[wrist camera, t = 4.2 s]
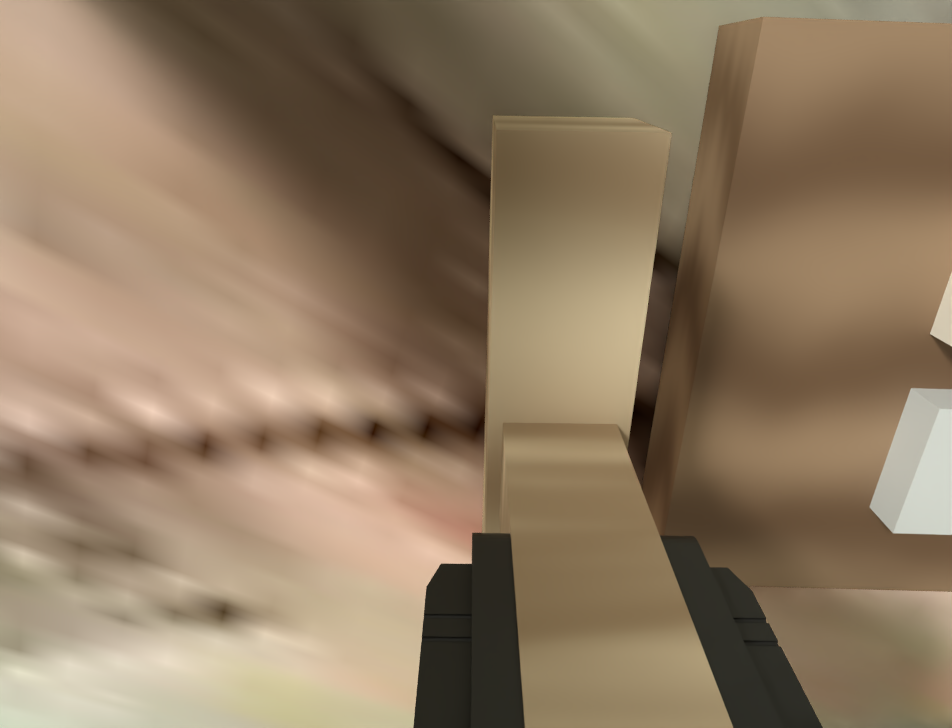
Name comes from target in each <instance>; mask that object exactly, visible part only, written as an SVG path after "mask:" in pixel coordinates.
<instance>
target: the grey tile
mask: <svg viewBox="0 0 952 728" xmlns="http://www.w3.org/2000/svg"><path fill="white" fill-rule="evenodd" d="M870 508H871V510H872V511H873V512H874V513H875V514H876V515H877V516H878V517H879V518H880V519H881V521H882V522H883V523H884V524H885V525H886V526H887V527H888V528H889V529H890V531H891V532H892V533H901V534H937V535H952V389H924V388H911V390H910V392H909V395H908V398H907V401H906V404H905V407H904V410H903V412H902V415H901V418H900V421H899V424H898V427H897V430H896V432H895V435H894V438H893V441H892V444H891V447H890V450H889V452H888V455H887V458H886V461H885V464H884V467H883V470H882V472H881V475H880V478H879V481H878V484H877V487H876V490H875V492H874V495H873V498H872V501H871V504H870Z"/></svg>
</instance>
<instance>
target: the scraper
mask: <svg viewBox="0 0 952 728" xmlns="http://www.w3.org/2000/svg"><path fill="white" fill-rule="evenodd" d="M671 136H672V133H671V132H668V131H666V130H663V129H661V128H658V127H656V126H653V125H650V124H648V123H645V122H643V121H640V120H637V119H635V118H614V117H553V116H493V121H492V161H491V201H490V241H489V281H488V321H487V362H486V402H485V442H484V482H483V522H482V533H510V535H511V546H512V560H513V573H514V587H515V601H516V615H517V629H518V642H519V656H520V670H521V684H522V698H523V711H524V725H525V728H733V726H732V723H731V720H730V718H729V715H728V713H727V710H726V707H725V705H724V702H723V700H722V697H721V694H720V692H719V689H718V686H717V684H716V681H715V679H714V676H713V673H712V671H711V668H710V666H709V663H708V660H707V658H706V655H705V653H704V650H703V647H702V645H701V642H700V640H699V637H698V634H697V632H696V629H695V627H694V624H693V621H692V619H691V616H690V613H689V611H688V608H687V606H686V603H685V600H684V598H683V595H682V593H681V590H680V587H679V585H678V582H677V580H676V577H675V574H674V572H673V569H672V567H671V564H670V561H669V559H668V556H667V554H666V551H665V548H664V546H663V543H662V541H661V538H660V535H659V533H658V530H657V527H656V525H655V522H654V520H653V517H652V514H651V512H650V509H649V507H648V504H647V501H646V499H645V496H644V494H643V491H642V488H641V486H640V483H639V481H638V478H637V475H636V473H635V470H634V468H633V465H632V462H631V460H630V457H629V454H628V452H627V450H628V442H629V435H630V428H631V421H632V414H633V407H634V400H635V393H636V385H637V378H638V371H639V364H640V357H641V350H642V343H643V336H644V328H645V321H646V314H647V307H648V300H649V293H650V286H651V278H652V271H653V264H654V257H655V250H656V243H657V236H658V229H659V221H660V214H661V207H662V200H663V193H664V186H665V179H666V171H667V164H668V157H669V150H670V143H671Z"/></svg>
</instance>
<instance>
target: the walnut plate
mask: <svg viewBox="0 0 952 728" xmlns="http://www.w3.org/2000/svg"><path fill="white" fill-rule="evenodd" d="M951 272H952V24H947V23H919V22H891V21H863V20H836V19H808V18H780V17H760V18H756V19H751V20H746V21H741V22H736V23H731V24H726V25H721V26H719V30H718V36H717V42H716V48H715V54H714V60H713V66H712V72H711V78H710V83H709V89H708V95H707V101H706V107H705V113H704V119H703V125H702V131H701V137H700V143H699V149H698V155H697V161H696V167H695V173H694V179H693V185H692V191H691V197H690V203H689V209H688V215H687V221H686V227H685V233H684V239H683V245H682V251H681V257H680V263H679V269H678V275H677V281H676V287H675V292H674V298H673V304H672V310H671V316H670V322H669V328H668V334H667V340H666V346H665V352H664V358H663V364H662V370H661V376H660V382H659V388H658V394H657V400H656V406H655V412H654V418H653V424H652V430H651V436H650V442H649V448H648V454H647V460H646V466H645V472H644V478H643V484H642V491H643V494H644V496H645V499H646V501H647V504H648V507H649V509H650V512H651V514H652V517H653V520H654V522H655V525H656V527H657V530H658V533H659V535H668V536H694V537H695V538H696V539H697V541H698V543H699V545H700V547H701V549H702V551H703V553H704V556H705V558H706V560H707V562H708V564H709V566H710V567H728V568H729V569H730V570H731V571H732V572H733V573H734V574H735V575H736V576H737V577H738V578H739V579H740V580H741V581H742V582H743V583H744V584H745V585H746V586H764V587H801V588H837V589H874V590H911V591H947V592H952V535H937V534H901V533H892V532H891V531H890V529H889V528H888V527H887V526H886V525H885V524H884V523H883V522H882V521H881V519H880V518H879V517H878V516H877V515H876V514H875V513H874V512H873V511H872V510H871V508H870V504H871V501H872V498H873V495H874V492H875V490H876V487H877V484H878V481H879V478H880V475H881V472H882V470H883V467H884V464H885V461H886V458H887V455H888V452H889V450H890V447H891V444H892V441H893V438H894V435H895V432H896V430H897V427H898V424H899V421H900V418H901V415H902V412H903V410H904V407H905V404H906V401H907V398H908V395H909V392H910V390H911V388H924V389H952V346H950V345H948V344H947V343H945V342H943V341H941V340H940V339H938V338H936V337H934V336H933V335H931V334H930V332H931V329H932V327H933V324H934V321H935V318H936V315H937V312H938V309H939V307H940V304H941V301H942V298H943V295H944V292H945V289H946V287H947V284H948V281H949V278H950V275H951Z"/></svg>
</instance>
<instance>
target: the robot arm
mask: <svg viewBox="0 0 952 728" xmlns="http://www.w3.org/2000/svg"><path fill="white" fill-rule="evenodd" d="M660 538H661V541H662V543H663V546H664V548H665V551H666V554H667V556H668V559H669V561H670V564H671V567H672V569H673V572H674V574H675V577H676V580H677V582H678V585H679V587H680V590H681V593H682V595H683V598H684V600H685V603H686V606H687V608H688V611H689V613H690V616H691V619H692V621H693V624H694V627H695V629H696V632H697V634H698V637H699V640H700V642H701V645H702V647H703V650H704V653H705V655H706V658H707V660H708V663H709V666H710V668H711V671H712V673H713V676H714V679H715V681H716V684H717V686H718V689H719V692H720V694H721V697H722V700H723V702H724V705H725V707H726V710H727V713H728V715H729V718H730V720H731V723H732V726H733V728H822V726H821V724H820V722H819V720H818V718H817V716H816V714H815V712H814V710H813V708H812V706H811V704H810V702H809V700H808V698H807V697H806V695H805V693H804V691H803V689H802V687H801V685H800V683H799V681H798V679H797V677H796V675H795V673H794V671H793V669H792V667H791V666H790V664H789V662H788V660H787V658H786V656H785V654H784V652H783V650H782V648H781V647H779V646H778V640H777V638H776V636H775V635H774V633H773V631H772V629H771V627H770V625H769V623H766V617H765V615H764V613H763V611H762V609H761V607H760V605H759V604H758V602H757V600H756V598H755V596H754V594H753V592H752V590H751V589H750V588H748V587H747V586H746V585H745V584H744V583H743V582H742V581H741V580H740V579H739V578H738V577H737V576H736V575H735V574H734V573H733V572H732V571H731V570H730V569H729V568H728V567H710V566H709V564H708V562H707V560H706V558H705V556H704V553H703V551H702V549H701V547H700V545H699V543H698V541H697V539H696V538H695V537H694V536H668V535H660ZM414 728H525V725H524V711H523V698H522V684H521V670H520V656H519V642H518V629H517V615H516V601H515V587H514V573H513V560H512V546H511V535H510V533H472V564H441V565H440V566H439V568H438V570H437V571H436V573H435V574H434V576H433V577H432V579H431V581H430V582H429V584H428V585H427V589H426V599H425V610H424V621H423V632H422V642H421V653H420V664H419V675H418V685H417V696H416V707H415V718H414Z"/></svg>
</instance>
